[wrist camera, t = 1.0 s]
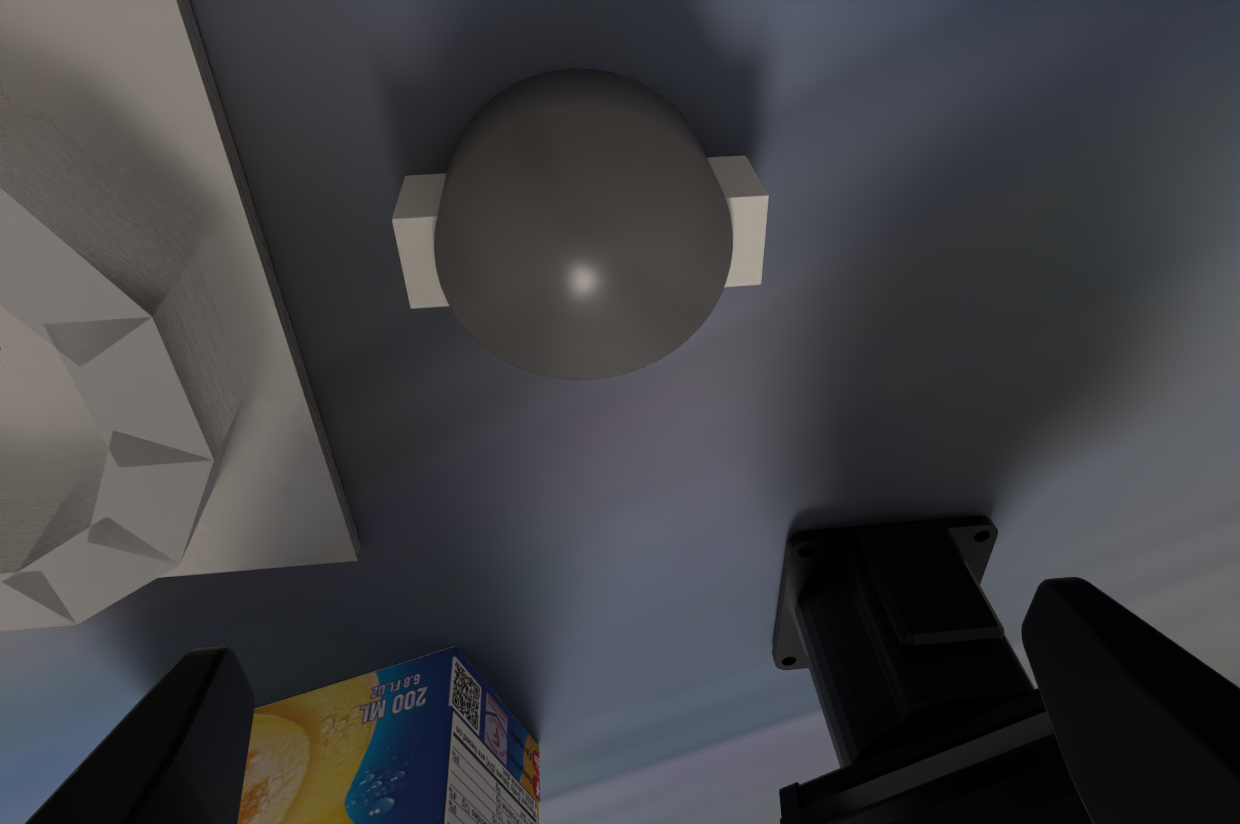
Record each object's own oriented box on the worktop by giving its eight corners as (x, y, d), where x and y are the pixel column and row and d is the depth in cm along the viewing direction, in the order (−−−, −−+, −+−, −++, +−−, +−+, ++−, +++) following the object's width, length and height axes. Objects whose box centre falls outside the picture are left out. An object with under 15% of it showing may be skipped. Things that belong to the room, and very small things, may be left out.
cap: (733, 308, 21) (755, 367, 19) (436, 329, 20) (426, 391, 18) (749, 56, 17) (780, 95, 15) (387, 76, 17) (367, 118, 15)
